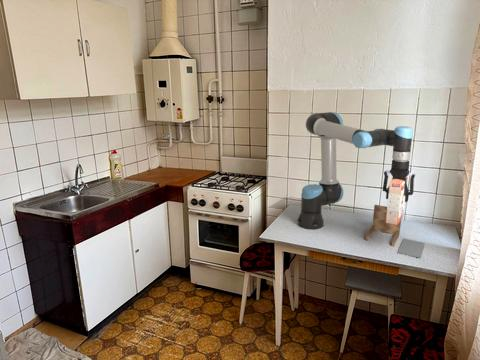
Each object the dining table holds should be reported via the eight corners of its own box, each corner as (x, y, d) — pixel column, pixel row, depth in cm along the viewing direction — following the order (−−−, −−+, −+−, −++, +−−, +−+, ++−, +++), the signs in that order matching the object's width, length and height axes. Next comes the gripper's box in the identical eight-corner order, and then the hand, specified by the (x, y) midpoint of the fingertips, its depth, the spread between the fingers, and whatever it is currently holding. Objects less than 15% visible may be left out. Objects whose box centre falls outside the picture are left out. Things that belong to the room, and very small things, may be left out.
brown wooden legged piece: (365, 240, 184) (367, 213, 180) (372, 229, 197) (374, 204, 193) (394, 246, 176) (397, 218, 172) (399, 234, 189) (402, 209, 185)
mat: (397, 253, 169) (397, 252, 169) (403, 239, 184) (403, 238, 184) (420, 258, 164) (420, 257, 164) (424, 244, 178) (424, 242, 178)
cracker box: (398, 226, 162) (402, 183, 157) (384, 223, 165) (388, 181, 160) (404, 216, 173) (408, 176, 168) (391, 214, 177) (394, 174, 171)
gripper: (377, 159, 164) (373, 205, 170) (422, 163, 153) (416, 212, 159) (381, 156, 170) (377, 201, 176) (424, 160, 159) (418, 207, 165)
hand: (396, 206), depth 168 cm, fingers closed on cracker box, 6 cm apart
